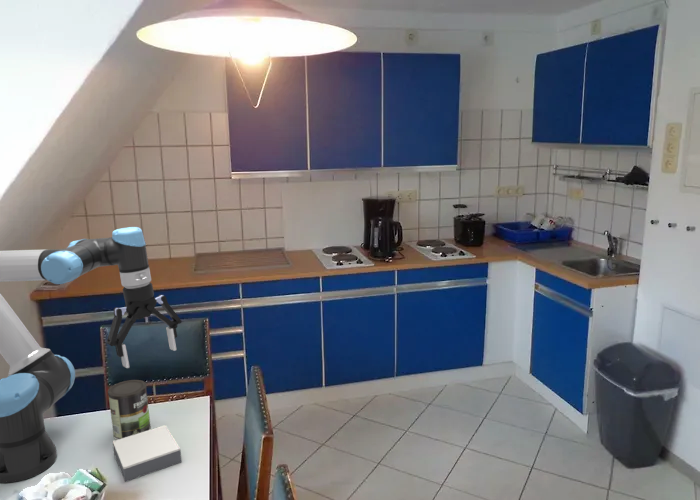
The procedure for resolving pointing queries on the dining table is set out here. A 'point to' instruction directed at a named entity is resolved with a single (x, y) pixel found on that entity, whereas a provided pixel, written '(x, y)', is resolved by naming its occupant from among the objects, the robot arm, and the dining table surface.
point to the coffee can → (129, 408)
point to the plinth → (146, 452)
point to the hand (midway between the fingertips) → (150, 357)
